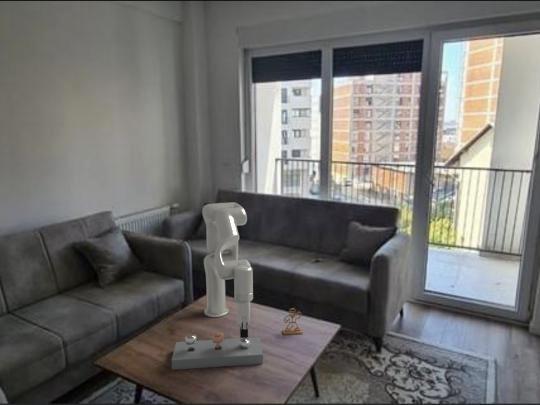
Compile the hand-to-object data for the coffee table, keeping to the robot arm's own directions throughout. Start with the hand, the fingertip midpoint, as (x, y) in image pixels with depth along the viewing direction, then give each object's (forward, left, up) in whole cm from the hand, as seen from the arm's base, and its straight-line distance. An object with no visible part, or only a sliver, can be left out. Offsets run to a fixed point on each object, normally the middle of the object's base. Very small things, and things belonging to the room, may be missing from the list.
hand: (244, 336), depth 164 cm
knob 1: (0, -22, -4) cm, 22 cm away
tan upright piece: (-17, +23, -8) cm, 30 cm away
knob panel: (0, -11, -8) cm, 14 cm away
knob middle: (0, -11, -4) cm, 12 cm away
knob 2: (0, 0, -7) cm, 7 cm away
